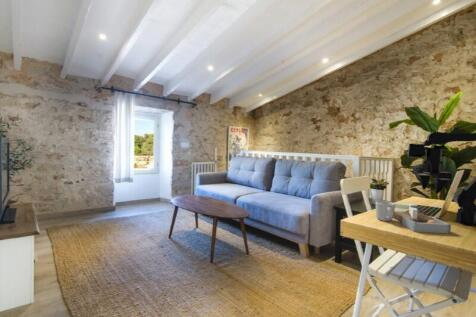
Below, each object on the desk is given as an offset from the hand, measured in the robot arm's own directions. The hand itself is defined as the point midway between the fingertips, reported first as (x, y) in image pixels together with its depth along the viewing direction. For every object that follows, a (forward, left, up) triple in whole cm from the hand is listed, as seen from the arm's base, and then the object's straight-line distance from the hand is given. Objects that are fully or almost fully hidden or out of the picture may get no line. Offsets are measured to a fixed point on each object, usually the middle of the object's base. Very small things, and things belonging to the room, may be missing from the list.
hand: (430, 191), depth 123 cm
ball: (+10, +17, -11) cm, 23 cm away
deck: (+11, +7, -13) cm, 18 cm away
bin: (+12, +18, -13) cm, 25 cm away
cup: (+24, +8, -13) cm, 29 cm away
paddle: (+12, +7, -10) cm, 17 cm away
